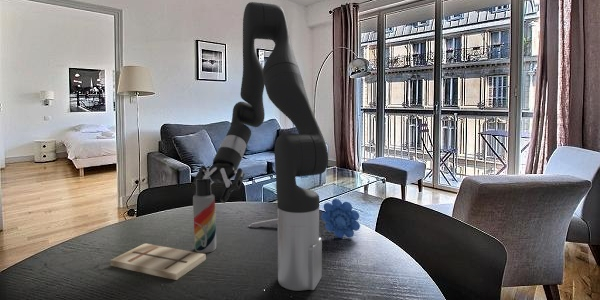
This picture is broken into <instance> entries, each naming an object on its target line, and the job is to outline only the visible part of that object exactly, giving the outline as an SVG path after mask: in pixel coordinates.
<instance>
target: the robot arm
mask: <svg viewBox="0 0 600 300" xmlns="http://www.w3.org/2000/svg"><path fill="white" fill-rule="evenodd" d="M242 18H243V19H242V79H241V86H240V98H241V99H242V101H238V102H236V103H235V105H234V106H233V109H232V115H231V116H232V118H231V122H230V127H229V128H228V132H227V133H226V135H225V136H224V139H223V140H222V141H221V143H220V145H219V148H218V150H217V152H216V154H215V156H214V158H213V160H212V165H211V166H210V167H206V166H205V165H202V166H200V168H199V170H198V172H197V174H196V175H195V177H194V179H193V181H192V182H193V183H194V185H196V179H209V178H210V179H211V185H213V184H222V185H224V184H225V187H224V188H223V190H222V193H221V194H220V196H219V200H220V202H221V203H222V204H225V203H226V202H228V200H229V198H230V196H231V194H232V192H233V191H240V189H241V186H242V182H243V181H244V178H245V172H244V171H243V169H242V168H241V167H239V166H240V163H241V162H242V159H243V157H244V154H245V152H246V148H247V146H248V143H249V141H250V138H251V136H252V130H251V128H250V127H252V128H260V127H261V125H263V123H264V121H265V105H264V97H263V96H264V90H265V92H266V94H267V97H268V99H269V101H271V103H272V104H273V105H274V106H275V107H276V108H277V109H278V110H279V111H280V112H281V113H282V114H283V115H284V116H285V117H286V118H288V120H289V121H290V122H291V123H292V124H293V125H294V127H295V129H296V130H297V133H286V134H285V133H284V134H279V136H278V137H277V138H276V140H275V145H274V166H275V187H276V188H275V189H276V190H275V191H276V199H277V206H276V207H277V219H278V224H277V282H278V284H279V286H281V287H282V288H285V289H286V290H289V291H290V290H291V291H296V292H297V291H300V292H301V291H307V290H310V291H314V290H315V289H316V287H317V286H318V285H319V282H320V281H321V279H322V278H323V277H322V275H323V274H322V273H323V272H322V269H323V268H322V267H323V264H322V262H323V260H322V257H323V250H322V249H323V242H322V241H323V238H322V237H320V195H319V194H318V193H317V192H315V191H314V190H312V189H308V188H305V187H304V188H303V187H300V186H299V185H297V180H296V177H307V176H308V177H309V176H316V175H317V176H318V175H321V174H323V173H324V172H326V170H327V168H328V166H329V165H328V164H329V152H328V147H327V144H326V141H325V138H324V135H323V133H322V131H321V129H320V126H319V124H318V122H317V120H316V117H315V114H314V112H313V109H312V107H311V104H310V102H309V101H310V100H309V98H308V95H307V92H306V88H305V85H304V80H303V76H302V73H301V70H300V68H299V65H298V62H297V58H296V56H295V53H294V49H293V46H292V42H291V38H290V32H289V27H288V21H287V17H286V14H285V10H284V9H283V7H281V5H278V4H275V3H273V4H272V3H267V2H266V3H263V2H256V1H249V2H248V3H247V4H246V5H245V7H244V11H243V17H242ZM256 40H267V41H268V40H269V41H273V43H274V47H273V50H272V51H271V53H270V54H269V56H268V58H267V59H266V61H265V63H264V65H262V63H261V61H260V60H259V58H258V54H257V53H256V49H255V41H256ZM233 177H234V178H233ZM232 178H233V180H231V179H232ZM232 181H233V182H232ZM194 195H196V189H195V190H194V191H193V196H194Z"/></svg>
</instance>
